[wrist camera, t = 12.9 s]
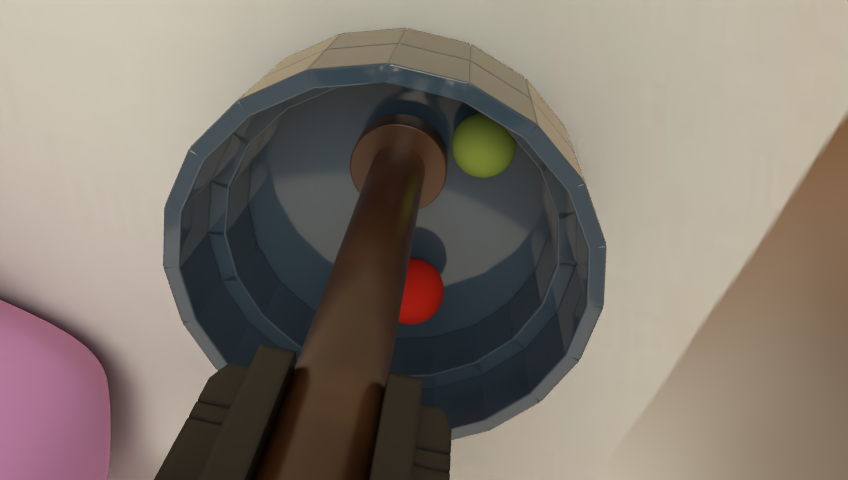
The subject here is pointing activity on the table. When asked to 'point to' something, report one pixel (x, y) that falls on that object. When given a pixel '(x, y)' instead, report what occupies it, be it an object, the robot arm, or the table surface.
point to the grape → (482, 146)
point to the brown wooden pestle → (358, 310)
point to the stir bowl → (434, 232)
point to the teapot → (50, 403)
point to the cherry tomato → (421, 292)
